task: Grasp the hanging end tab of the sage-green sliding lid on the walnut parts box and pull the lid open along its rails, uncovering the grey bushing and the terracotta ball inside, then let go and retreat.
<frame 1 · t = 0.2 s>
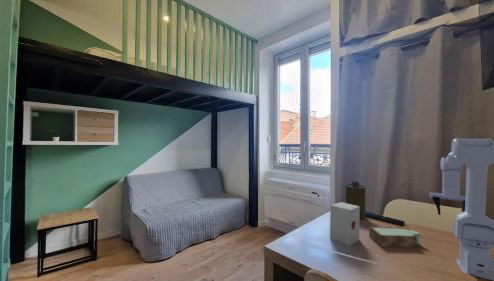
hand: (450, 216, 96), 10 cm above the table, tool pointing down, fingers open, 7 cm apart
ball: (395, 243, 90), point 1 cm above the table, touching tub
supplement box: (344, 240, 94), on the table
tub: (391, 243, 91), on the table
canister: (355, 216, 124), on the table
bushing: (383, 241, 92), point 1 cm above the table, touching tub
lid: (396, 236, 91), point 3 cm above the table, slide at 0.0 cm
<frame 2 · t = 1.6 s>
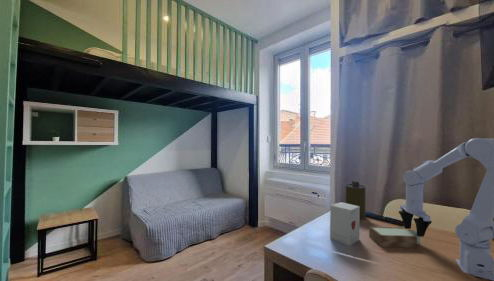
hand: (413, 232, 91), 5 cm above the table, tool pointing down, fingers open, 7 cm apart
nothing on the table moved.
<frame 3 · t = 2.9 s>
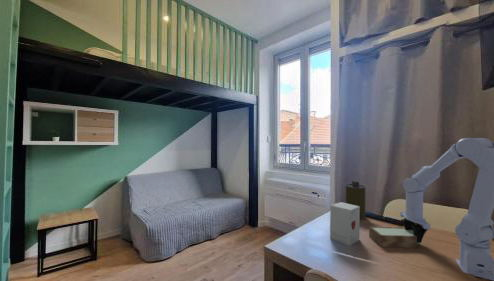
hand: (414, 239, 91), 2 cm above the table, tool pointing down, fingers closed on lid, 4 cm apart
lid: (396, 236, 91), point 3 cm above the table, slide at 0.0 cm, touching gripper
everything else where it was.
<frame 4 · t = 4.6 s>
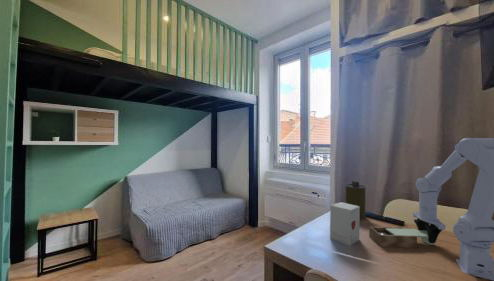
hand: (427, 240, 91), 2 cm above the table, tool pointing down, fingers closed on lid, 4 cm apart
lid: (410, 236, 91), point 3 cm above the table, slide at 5.4 cm, touching gripper
everything else where it was.
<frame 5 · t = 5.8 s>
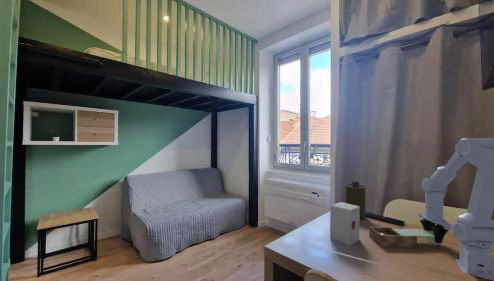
hand: (433, 240, 91), 2 cm above the table, tool pointing down, fingers closed on lid, 4 cm apart
lid: (416, 237, 91), point 3 cm above the table, slide at 7.9 cm, touching gripper
everything else where it was.
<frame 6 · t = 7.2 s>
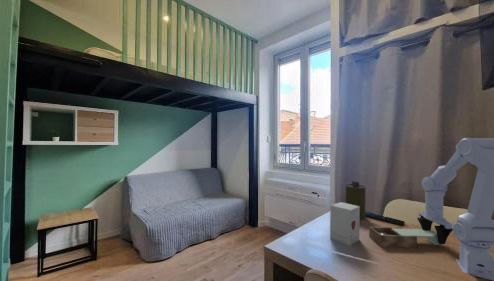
hand: (433, 239, 90), 2 cm above the table, tool pointing down, fingers open, 7 cm apart
lid: (416, 237, 91), point 3 cm above the table, slide at 7.9 cm
everything else where it was.
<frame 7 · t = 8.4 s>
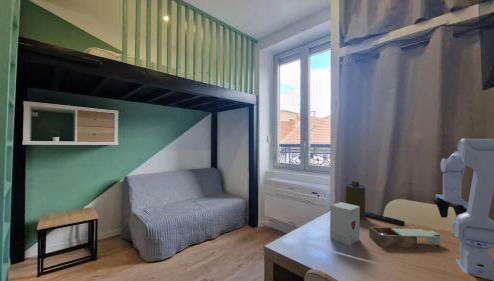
hand: (451, 220, 91), 10 cm above the table, tool pointing down, fingers open, 7 cm apart
nothing on the table moved.
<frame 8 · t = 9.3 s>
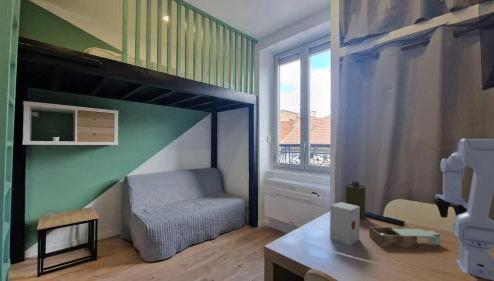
hand: (451, 220, 91), 10 cm above the table, tool pointing down, fingers open, 7 cm apart
nothing on the table moved.
at the end: lid slide at 7.9 cm; the gripper is holding nothing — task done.
